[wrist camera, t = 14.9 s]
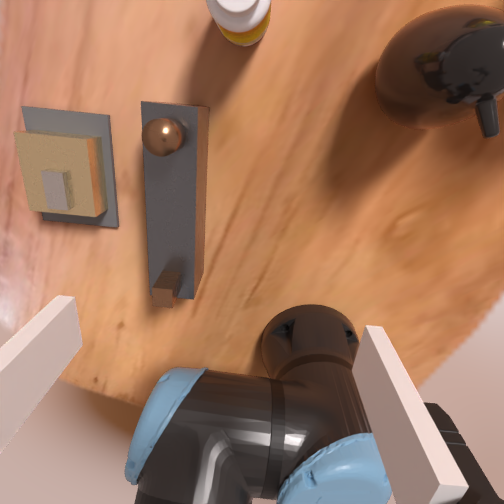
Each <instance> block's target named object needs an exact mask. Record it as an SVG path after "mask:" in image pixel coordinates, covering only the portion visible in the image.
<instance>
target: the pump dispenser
mask: <svg viewBox="0 0 504 504" xmlns="http://www.w3.org/2000/svg"><path fill="white" fill-rule="evenodd" d="M375 91H376V96H377V100H378V103H379V105H380V107H381V109H382V111H383V112H384V114H385V115H386V116H387V117H388V118H389V119H390V120H391V121H393V122H394V123H396V124H398V125H400V126H402V127H405V128H410V129H419V130H423V129H434V128H440V127H445V126H449V125H453V124H456V123H459V122H462V121H464V120H467V119H469V118H471V117H473V116H475V115H476V116H477V119H478V123H479V126H480V129H481V132H482V136H483V138H485V139H490V138H494V137H496V136H498V135H499V134H500V126H499V116H498V106H497V102H498V101H500V100H501V99H502V98H503V97H504V11H503V10H500V9H497V8H494V7H489V6H484V5H474V4H464V5H455V6H449V7H444V8H440V9H437V10H433V11H430V12H427V13H425V14H423V15H421V16H419V17H417V18H415V19H413V20H412V21H410V22H409V23H407V24H406V25H405V26H403V27H402V28H401V29H400V30H399V31H398V32H397V33H396V34H395V35H394V36H393V37H392V39H391V40H390V41H389V43H388V44H387V46H386V47H385V49H384V51H383V53H382V55H381V57H380V60H379V63H378V66H377V70H376V76H375Z"/></svg>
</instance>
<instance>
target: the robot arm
mask: <svg viewBox="0 0 504 504" xmlns="http://www.w3.org/2000/svg"><path fill="white" fill-rule="evenodd" d="M82 345H83V343H82V337H81V331H80V325H79V319H78V313H77V307H76V301H75V297H72V296H61V295H57V296H56V297H55V298H54V299H53V300H52V301H51V302H50V303H49V304H48V305H46V306H45V307H44V308H43V309H42V310H41V311H40V312H39V313H38V314H37V315H36V316H35V317H33V318H32V319H31V320H30V321H29V322H28V323H27V324H26V325H25V326H24V327H23V328H21V329H20V330H19V331H18V332H17V333H16V334H15V335H14V336H13V337H12V338H11V339H10V340H8V341H7V343H5V344H4V345H3V346H2V347H1V348H0V454H1V452H2V451H3V450H4V449H5V447H6V446H7V444H8V443H9V442H10V441H11V439H12V438H13V437H14V435H15V434H16V433H17V431H18V430H19V429H20V427H21V426H22V425H23V423H24V422H25V421H26V420H27V418H28V417H29V415H30V414H31V413H32V412H33V410H34V409H35V408H36V406H37V405H38V404H39V402H40V401H41V400H42V398H43V397H44V396H45V394H46V393H47V392H48V390H49V389H50V388H51V386H52V385H53V384H54V382H55V381H56V380H57V378H58V377H59V376H60V374H61V373H62V372H63V370H64V369H65V368H66V366H67V365H68V364H69V363H70V361H71V360H72V359H73V357H74V356H75V355H76V353H77V352H78V351H79V349H80V348H81V347H82ZM261 354H262V360H263V363H264V366H265V368H266V370H267V372H268V374H269V377H270V378H264V377H257V376H249V375H242V374H234V373H227V372H219V371H212V370H208V368H206V367H204V368H202V369H198V368H185V367H175V368H172V369H170V370H168V371H167V372H166V373H164V374H163V375H162V377H161V378H160V379H159V381H158V382H157V384H156V385H155V387H154V389H153V390H152V392H151V394H150V396H149V398H148V400H147V402H146V404H145V407H144V409H143V411H142V414H141V416H140V419H139V421H138V424H137V426H136V429H135V432H134V435H133V438H132V441H131V444H130V448H129V452H128V460H127V463H126V466H125V477H126V479H127V481H129V482H131V484H132V485H137V484H138V491H137V495H136V500H135V504H252V499H253V498H263V499H271V500H277V504H387V502H388V500H389V499H390V496H391V494H392V492H393V495H394V497H395V501H396V504H504V500H502V499H500V498H499V497H498V495H497V494H496V493H495V491H494V489H493V488H492V486H491V484H490V483H489V481H488V479H487V478H486V476H485V474H484V473H483V471H482V469H481V468H480V466H479V464H478V463H477V461H476V460H475V458H474V456H473V454H472V453H471V451H470V449H469V448H468V446H466V443H465V441H464V439H463V438H462V436H461V435H460V434H459V433H458V429H457V428H456V426H455V424H454V423H453V421H452V419H451V418H450V417H449V415H448V414H446V412H445V411H444V410H442V409H441V407H439V406H438V405H437V404H435V403H424V402H423V401H422V399H421V397H420V395H419V394H418V392H417V390H416V388H415V386H414V384H413V383H412V381H411V379H410V377H409V375H408V373H407V371H406V370H405V368H404V366H403V364H402V362H401V360H400V359H399V357H398V355H397V353H396V351H395V349H394V347H393V346H392V344H391V342H390V340H389V338H388V336H387V335H386V333H385V331H384V329H383V327H380V326H370V325H365V328H364V332H363V335H362V338H361V341H360V344H359V339H358V337H357V334H356V332H355V329H354V327H353V325H352V323H351V322H350V321H349V320H348V319H347V318H346V317H345V316H344V315H343V314H342V313H340V312H338V311H337V310H335V309H332V308H330V307H326V306H322V305H301V306H296V307H293V308H290V309H287V310H285V311H283V312H281V313H280V314H278V315H277V316H276V317H274V318H273V319H272V320H271V321H270V323H269V324H268V325H267V327H266V328H265V330H264V333H263V336H262V341H261Z"/></svg>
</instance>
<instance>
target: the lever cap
mask: <svg viewBox="0 0 504 504" xmlns="http://www.w3.org/2000/svg"><path fill="white" fill-rule="evenodd" d="M14 137H15V142H16V147H17V151H18V156H19V161H20V166H21V171H22V175H23V180H24V185H25V190H26V195H27V199H28V204H29V209H30V211H40V212H50V213H60V214H70V215H80V216H90V217H97V216H98V215H100V214H101V213H103V212H104V211H106V210H107V209H108V200H107V189H106V179H105V169H104V159H103V149H102V139H101V137H100V136H91V135H81V134H71V133H62V132H52V131H42V130H26V131H17V132H14Z"/></svg>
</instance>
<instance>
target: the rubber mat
mask: <svg viewBox="0 0 504 504" xmlns="http://www.w3.org/2000/svg"><path fill="white" fill-rule="evenodd" d="M22 112H23V117H24V122H25V127H26V130H42V131H52V132H62V133H71V134H81V135H91V136H100V137H101V139H102V149H103V159H104V169H105V179H106V189H107V200H108V209H107V210H106V211H104V212H103V213H101V214H100V215H98V216H97V217H90V216H80V215H70V214H60V213H50V212H42V216H43V220H47V221H57V222H67V223H77V224H87V225H97V226H107V227H119V217H118V205H117V194H116V182H115V171H114V159H113V148H112V136H111V124H110V115H103V114H94V113H84V112H74V111H65V110H55V109H46V108H36V107H26V106H22Z"/></svg>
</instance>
